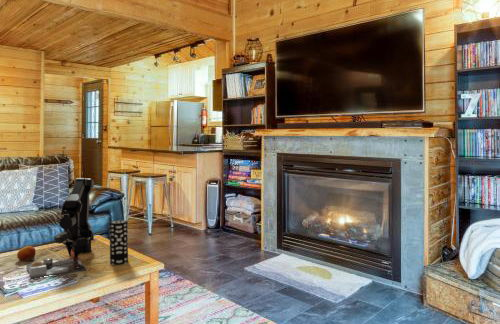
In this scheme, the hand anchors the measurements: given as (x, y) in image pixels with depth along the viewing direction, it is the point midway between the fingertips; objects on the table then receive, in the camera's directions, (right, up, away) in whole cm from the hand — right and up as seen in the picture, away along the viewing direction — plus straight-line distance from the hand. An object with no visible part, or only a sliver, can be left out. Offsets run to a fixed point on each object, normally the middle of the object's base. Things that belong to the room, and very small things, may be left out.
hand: (73, 257), depth 190 cm
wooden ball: (-8, -4, -17) cm, 19 cm away
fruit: (-26, -3, +5) cm, 26 cm away
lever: (-5, -2, -6) cm, 8 cm away
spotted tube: (+22, -3, +1) cm, 22 cm away
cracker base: (-4, -3, -8) cm, 10 cm away
